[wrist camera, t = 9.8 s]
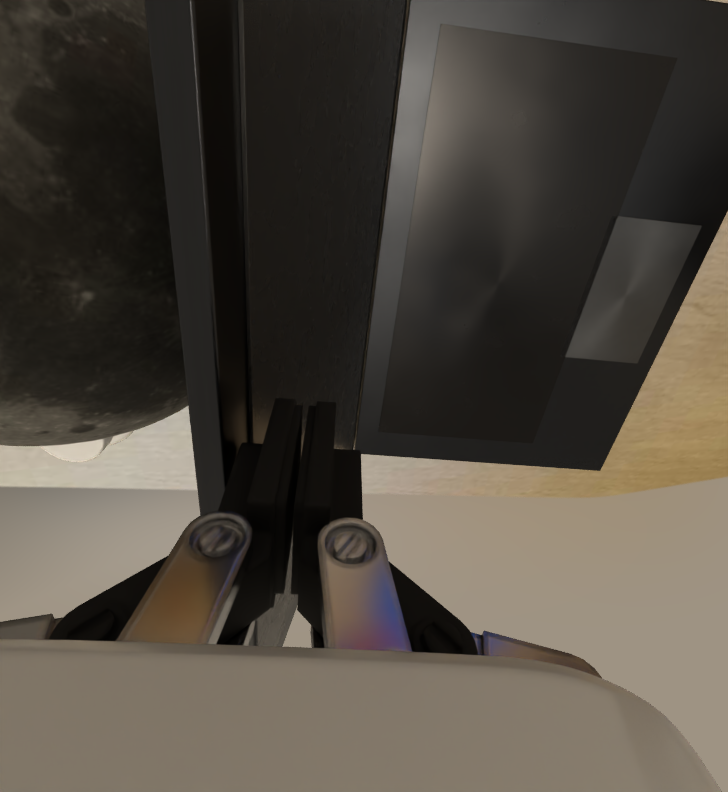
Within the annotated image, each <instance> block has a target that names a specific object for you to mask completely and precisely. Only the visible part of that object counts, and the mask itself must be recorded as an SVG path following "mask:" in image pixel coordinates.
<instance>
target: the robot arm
mask: <svg viewBox="0 0 728 792" xmlns="http://www.w3.org/2000/svg"><path fill="white" fill-rule="evenodd" d="M335 417H336V402H325V401H317V405H316V406H309V408H308V414H307V421H306V428H305V434H304V441H303V448H302V454H301V442H302V419H303V405H296V399H285V398H275V401H274V405H273V409H272V412H271V416H270V419H269V423H268V427H267V430H266V434H265V438H264V441H263V444H261V443H246V442H243V443H241V446H240V448H239V451H238V454H237V457H236V460H235V462H234V465H233V468H232V471H231V474H230V477H229V480H228V483H227V486H226V489H225V491H224V494H223V497H222V500H221V503H220V506H219V509H218V511H213V512H209V513H206V514H204V515H201V516H199V517H198V518H196V519H195V520H193V521H192V522H191V523H190V524H189V525H188V526H187V527H186V528H185V530H184V531H183V533H182V535H181V536H180V538H179V540H178V541H177V543H176V544H175V546H174V548H173V549H172V551H171V552H170V554H169V556H167V557H165V558H163V559H162V560H160V561H158V562H156V563H154V564H152V565H151V566H149V567H147V568H146V569H144V570H142V571H140V572H138V573H137V574H135V575H133V576H131V577H129V578H127V579H126V580H124V581H122V582H120V583H119V584H117V585H115V586H113V587H112V588H110V589H108V590H106V591H104V592H103V593H101V594H99V595H97V596H96V597H94V598H92V599H90V600H88V601H86V602H85V603H83V604H81V605H79V606H78V607H76V608H75V609H74V610H72V611H71V612H69V613H68V614H67V615H66V616H65V617H64V618H57V619H54V617H53V614H47V615H41V616H35V617H29V618H22V619H16V620H10V621H4V622H0V792H722V791H721V789H720V788H719V786H718V785H717V783H716V782H715V780H714V779H713V777H712V776H711V774H710V773H709V771H708V770H707V768H706V767H705V765H704V763H703V762H702V760H701V759H700V757H699V756H698V755H697V753H696V752H695V750H694V749H693V748H692V746H691V745H690V744H689V742H688V741H687V740H686V739H685V737H684V736H683V735H682V734H681V732H680V731H679V730H678V729H677V728H676V727H675V726H674V725H673V724H672V723H671V722H670V721H669V720H668V719H667V717H666V716H665V715H663V714H662V713H661V712H660V711H658V710H657V709H656V708H654V707H653V706H652V705H651V704H649V703H648V702H646V701H645V700H643V699H641V698H640V697H638V696H636V695H635V694H633V693H631V692H629V691H627V690H626V689H624V688H622V687H620V686H617V685H615V684H613V683H611V682H609V681H606V680H604V679H602V677H601V676H600V675H599V674H598V672H597V671H596V670H595V668H593V667H592V666H591V665H590V664H588V663H587V662H586V661H585V660H583V659H581V658H579V657H577V656H574V655H572V654H569V653H565V652H562V651H558V650H554V649H550V648H547V647H543V646H539V645H536V644H532V643H528V642H524V641H521V640H517V639H513V638H509V637H506V636H502V635H498V634H495V633H490V632H487V631H484V632H483V634H482V635H479V634H475V633H471V632H470V631H469V630H468V628H467V627H466V626H465V625H464V624H463V623H462V622H461V621H460V620H459V619H458V618H456V617H455V616H454V615H453V614H452V613H450V612H449V611H448V610H447V609H446V608H444V607H443V606H442V605H441V604H440V603H438V602H437V601H436V600H435V599H434V598H432V597H431V596H430V595H429V594H427V593H426V592H425V591H424V590H423V589H421V588H420V587H419V586H418V585H417V584H415V583H414V582H413V581H412V580H411V579H409V578H408V577H407V576H406V575H405V574H403V573H402V572H401V571H400V570H398V569H397V568H396V567H395V566H394V565H392V564H391V563H390V562H389V561H388V558H387V554H386V550H385V546H384V543H383V539H382V537H381V535H380V533H379V532H378V531H377V530H376V528H375V527H374V526H372V525H371V524H369V523H368V522H366V521H364V520H363V515H362V514H363V513H362V479H361V452H360V450H348V449H334V436H335ZM292 535H293V546H292V574H291V594H292V595H298V608H297V610H298V611H299V612H300V613H301V614H302V616H303V617H304V618H306V620H307V621H308V622H309V623H310V624H311V643H312V648H301V647H274V646H248V645H249V642H250V640H251V637H252V634H253V631H254V626H255V620H256V619H257V618H258V617H260V616H261V615H262V614H263V613H265V612H266V611H267V610H269V609H270V608H274V602H275V595H276V594H284V591H285V585H286V578H287V571H288V563H289V556H290V549H291V542H292Z"/></svg>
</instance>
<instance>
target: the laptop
mask: <svg viewBox="0 0 728 792" xmlns="http://www.w3.org/2000/svg"><path fill="white" fill-rule="evenodd" d="M727 211H728V3H722V2H715V1H709V0H408V1H407V9H406V17H405V26H404V34H403V42H402V51H401V59H400V67H399V75H398V84H397V92H396V100H395V109H394V117H393V125H392V133H391V142H390V150H389V158H388V167H387V175H386V183H385V191H384V200H383V208H382V216H381V225H380V233H379V241H378V249H377V258H376V266H375V274H374V283H373V291H372V299H371V307H370V316H369V324H368V332H367V341H366V349H365V357H364V365H363V374H362V382H361V390H360V399H359V407H358V415H357V423H356V432H355V440H354V450H360V452H361V454H370V455H384V456H398V457H413V458H427V459H441V460H455V461H469V462H484V463H498V464H512V465H526V466H540V467H554V468H569V469H583V470H597V471H600V470H601V468H602V466H603V464H604V462H605V460H606V458H607V456H608V454H609V452H610V450H611V448H612V445H613V443H614V441H615V439H616V437H617V435H618V433H619V431H620V429H621V427H622V425H623V423H624V421H625V419H626V417H627V415H628V413H629V411H630V409H631V407H632V405H633V403H634V401H635V399H636V397H637V395H638V392H639V390H640V388H641V386H642V384H643V382H644V380H645V378H646V376H647V374H648V372H649V370H650V368H651V366H652V364H653V362H654V360H655V358H656V356H657V354H658V352H659V350H660V348H661V346H662V344H663V342H664V340H665V337H666V335H667V333H668V331H669V329H670V327H671V325H672V323H673V321H674V319H675V317H676V315H677V313H678V311H679V309H680V307H681V305H682V303H683V301H684V299H685V297H686V295H687V293H688V291H689V289H690V287H691V284H692V282H693V280H694V278H695V276H696V274H697V272H698V270H699V268H700V266H701V264H702V262H703V260H704V258H705V256H706V254H707V252H708V250H709V248H710V246H711V244H712V242H713V240H714V238H715V236H716V234H717V231H718V229H719V227H720V225H721V223H722V221H723V219H724V217H725V215H726V213H727Z"/></svg>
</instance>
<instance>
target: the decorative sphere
mask: <svg viewBox="0 0 728 792" xmlns="http://www.w3.org/2000/svg"><path fill="white" fill-rule="evenodd" d="M186 406H188V396H187V387H186V378H185V369H184V360H183V350H182V341H181V332H180V323H179V314H178V305H177V296H176V287H175V277H174V268H173V259H172V250H171V241H170V232H169V223H168V213H167V204H166V195H165V186H164V177H163V168H162V159H161V150H160V140H159V131H158V122H157V113H156V104H155V95H154V86H153V76H152V67H151V58H150V49H149V40H148V31H147V22H146V13H145V3H144V0H0V445H8V446H52V445H65V444H73V443H81V442H88V441H95V440H99V439H104V438H109V437H113V436H116V435H120V434H123V433H127V432H131V431H134V430H137V429H140V428H142V427H145V426H148V425H150V424H153V423H155V422H157V421H160V420H162V419H164V418H166V417H168V416H170V415H172V414H174V413H176V412H178V411H180V410H181V409H183V408H185V407H186Z"/></svg>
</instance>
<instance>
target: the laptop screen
mask: <svg viewBox="0 0 728 792" xmlns="http://www.w3.org/2000/svg"><path fill="white" fill-rule="evenodd" d="M407 1H408V0H144V3H145V13H146V22H147V31H148V40H149V49H150V58H151V67H152V76H153V86H154V95H155V104H156V113H157V122H158V131H159V140H160V150H161V159H162V168H163V177H164V186H165V195H166V204H167V213H168V223H169V232H170V241H171V250H172V259H173V268H174V277H175V287H176V296H177V305H178V314H179V323H180V332H181V341H182V350H183V360H184V369H185V378H186V387H187V396H188V405H189V414H190V424H191V433H192V442H193V451H194V460H195V469H196V478H197V488H198V497H199V506H200V515H204V514H206V513H209V512H213V511H218V509H219V506H220V503H221V500H222V497H223V494H224V491H225V489H226V486H227V483H228V480H229V477H230V474H231V471H232V468H233V465H234V462H235V460H236V457H237V454H238V451H239V448H240V446H241V443H243V442H246V443H261V444H263V441H264V438H265V434H266V430H267V427H268V423H269V419H270V416H271V412H272V409H273V405H274V401H275V398H285V399H296V405H303V419H302V442H301V454H302V448H303V441H304V434H305V428H306V421H307V414H308V408H309V406H316V405H317V401H325V402H336V417H335V436H334V449H348V450H353V448H354V440H355V432H356V423H357V415H358V407H359V399H360V390H361V382H362V374H363V365H364V357H365V349H366V341H367V332H368V324H369V316H370V307H371V299H372V291H373V283H374V274H375V266H376V258H377V249H378V241H379V233H380V225H381V216H382V208H383V200H384V191H385V183H386V175H387V167H388V158H389V150H390V142H391V133H392V125H393V117H394V109H395V100H396V92H397V84H398V75H399V67H400V59H401V51H402V42H403V34H404V26H405V17H406V9H407ZM292 546H293V535H292V542H291V549H290V556H289V563H288V571H287V578H286V585H285V591H284V594H276V595H275V602H274V608H270V609H269V610H267V611H266V612H265V613H263V614H262V615H261V616H260V617H258V618H257V619H256V620H255V626H254V631H253V634H252V637H251V640H250V642H249V645H248V646H274V647H282V646H283V643H284V640H285V638H286V635H287V632H288V629H289V626H290V624H291V621H292V618H293V615H294V613H295V610H296V608H297V605H298V595H292V594H291V574H292Z"/></svg>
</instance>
